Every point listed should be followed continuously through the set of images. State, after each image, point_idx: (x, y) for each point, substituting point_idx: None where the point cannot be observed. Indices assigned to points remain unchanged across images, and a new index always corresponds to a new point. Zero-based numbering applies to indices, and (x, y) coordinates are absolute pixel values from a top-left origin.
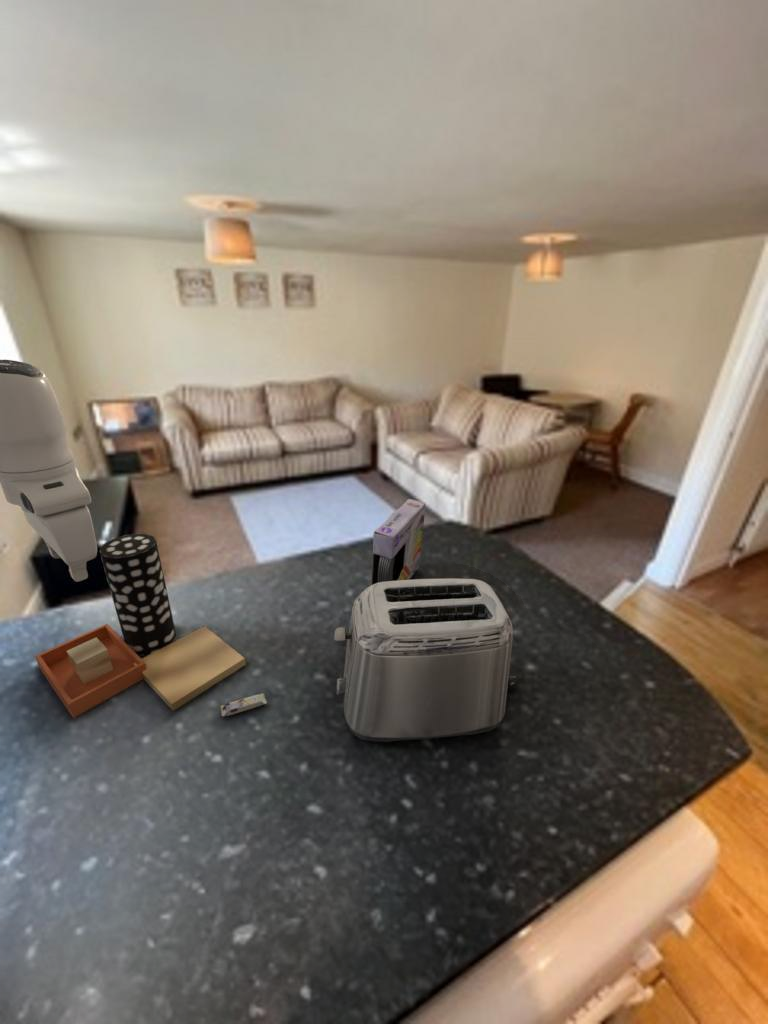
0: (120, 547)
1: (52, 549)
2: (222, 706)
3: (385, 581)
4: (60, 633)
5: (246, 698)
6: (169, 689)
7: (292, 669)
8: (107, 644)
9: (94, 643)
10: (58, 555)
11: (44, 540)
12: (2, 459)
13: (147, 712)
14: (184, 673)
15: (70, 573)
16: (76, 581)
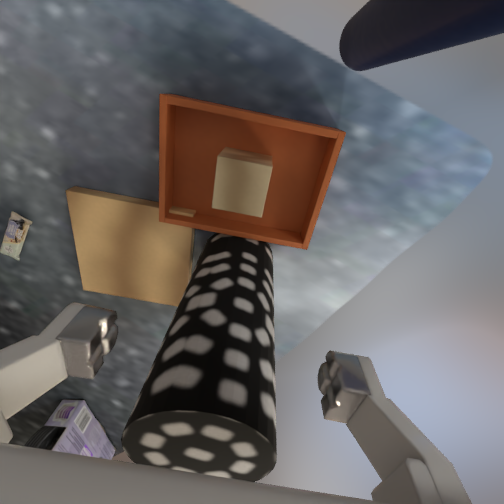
0: (203, 444)
1: (340, 393)
2: (28, 222)
3: (32, 439)
4: (392, 200)
5: (15, 245)
6: (96, 206)
7: (44, 300)
8: (285, 222)
9: (246, 205)
10: (328, 367)
11: (416, 431)
12: None
13: (98, 165)
14: (112, 236)
15: (91, 325)
16: (72, 303)
